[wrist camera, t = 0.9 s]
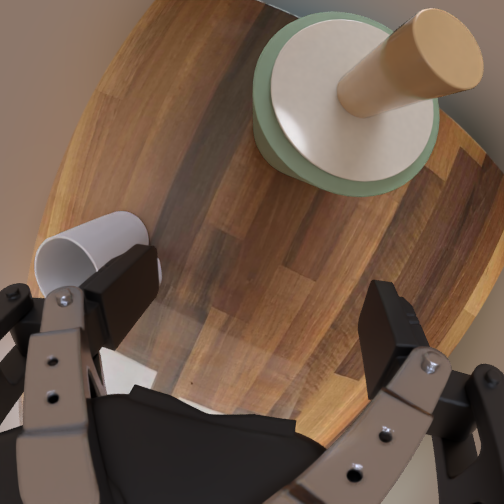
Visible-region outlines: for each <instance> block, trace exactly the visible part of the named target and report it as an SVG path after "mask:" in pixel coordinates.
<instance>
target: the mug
mask: <svg viewBox="0 0 504 504" xmlns="http://www.w3.org/2000/svg"><path fill="white" fill-rule="evenodd" d="M135 244H143V245H149V238H148V233H147V230H146V227H145V225H144V224H143V222H142V221H141V220H140V219H139V218H138V217H137V216H135V215H134V214H132V213H130V212H126V211H117V212H113V213H110V214H108V215H105V216H102V217H99V218H97V219H94V220H92V221H89V222H86V223H84V224H81V225H79V226H76V227H74V228H71V229H69V230H66V231H64V232H61V233H59V234H57V235H55V236H52V237H50V238H48V239H46V240H45V241H44V242H43V243H42V244H41V245H40V246H39V248H38V250H37V253H36V256H35V262H34V269H35V276H36V280H37V283H38V286H39V288H40V290H41V292H42V294H43V295H44V297H45V298H46V296H47V295H48V294H49V293H50V292H51V291H53V290H54V289H57V288H59V287H63V286H76V287H79V286H80V285H81V284H82V283H83V282H84V281H86V280H87V279H88V278H89V277H90V276H91V275H93V274H94V273H95V272H98V270H99V269H100V268H101V267H102V266H104V265H105V264H106V263H107V262H108V261H109V260H111V259H112V258H114V257H117V256H119V255H121V254H124V253H125V252H126V251H127V250H129V249H130V248H131V247H132V246H134V245H135ZM158 273H159V286H160V284H161V281H162V271H161V265H160V260H159V259H158Z"/></svg>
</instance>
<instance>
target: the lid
mask: <svg viewBox="0 0 504 504" xmlns="http://www.w3.org/2000/svg"><path fill="white" fill-rule="evenodd" d="M483 70H484V64H483V58H482V54H481V51H480V48H479V46H478V44H477V42H476V40H475V38H474V37H473V35H472V34H471V32H470V31H469V30H468V28H466V26H465V25H464V24H463V23H462V22H461V21H460V20H458V19H457V18H456V17H454V16H453V15H451V14H449V13H448V12H445V11H443V10H440V9H436V8H426V9H423V10H421V11H419V12H418V13H416V14H415V15H414V16H413V17H411V18H410V19H409V20H408V21H406V22H405V23H404V24H403V25H401V26H400V27H399V28H398V29H396V30H395V31H394V32H393V33H392V34H390V35H389V34H388V33H386V32H384V31H382V30H381V29H378V28H376V27H374V26H372V25H369V24H366V23H363V22H358V21H353V20H343V19H337V20H327V21H322V22H318V23H315V24H312V25H310V26H308V27H306V28H304V29H302V30H300V31H299V32H298V33H296V34H295V35H293V36H292V37H291V38H290V39H289V40H288V41H287V42H286V44H285V45H284V46H283V48H282V49H281V51H280V52H279V54H278V56H277V58H276V60H275V63H274V67H273V70H272V75H271V81H270V97H271V105H272V109H273V112H274V116H275V118H276V121H277V123H278V125H279V128H280V129H281V131H282V133H283V135H284V136H285V138H286V139H287V140H288V142H289V143H290V145H291V146H292V147H293V148H294V149H295V150H296V151H297V152H298V153H299V154H300V155H301V156H302V157H303V158H304V159H305V160H307V161H308V162H309V163H310V164H312V165H313V166H315V167H317V168H318V169H320V170H322V171H324V172H326V173H328V174H330V175H333V176H336V177H339V178H343V179H347V180H352V181H361V182H369V181H378V180H383V179H387V178H390V177H392V176H395V175H397V174H399V173H400V172H402V171H404V170H405V169H407V168H408V167H409V166H411V165H412V164H413V163H414V162H415V160H416V159H417V158H418V157H419V156H420V154H421V153H422V152H423V150H424V148H425V146H426V144H427V142H428V140H429V137H430V134H431V130H432V125H433V116H434V111H433V100H432V99H435V98H438V97H442V96H446V95H450V94H454V93H458V92H462V91H466V90H470V89H472V88H474V87H476V86H477V85H478V84H479V82H480V81H481V79H482V76H483Z"/></svg>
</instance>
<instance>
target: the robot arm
mask: <svg viewBox="0 0 504 504" xmlns="http://www.w3.org/2000/svg"><path fill="white" fill-rule="evenodd" d="M158 290H159V273H158V258H157V250H156V248H155V247H154V246H149V245H143V244H135V245H134V246H132V247H131V248H130V249H129V250H127V251H126V252H125V253H124V254H121V255H119V256H117V257H114V258H112V259H111V260H109V261H108V262H107V263H106V264H105V265H104V266H102V267H101V268H100V269H99V270H98V272H95V273H94V274H93V275H91V276H90V277H89V278H88V279H87V280H86V281H84V282H83V283H82V284H81V285H80V286H79V287H76V286H63V287H59V288H57V289H54V290H53V291H51V292H50V293H49V294H48V295H47V296H46V298H32V295H31V292H30V288H29V286H28V285H26V284H22V283H17V284H13V285H10V286H7V287H6V288H4V289H3V290H1V291H0V340H1V339H2V338H3V337H4V336H5V335H6V334H7V333H8V332H9V331H10V333H11V335H12V338H13V340H14V342H15V344H16V345H15V346H14V347H13V348H12V349H11V351H10V352H9V353H8V354H7V355H6V356H5V357H4V359H3V360H2V361H1V362H0V425H1V423H2V422H3V420H4V419H5V417H6V416H7V414H8V413H9V412H10V410H11V409H12V407H13V406H14V404H15V403H16V402H17V400H18V399H19V398H20V396H21V395H22V393H23V392H24V401H23V425H22V426H19V427H16V428H13V429H10V430H7V431H4V432H1V433H0V504H380V503H381V502H382V501H383V499H384V498H385V497H386V495H387V494H388V493H389V491H390V490H391V488H392V487H393V486H394V484H395V483H396V481H397V480H398V478H399V477H400V475H401V474H402V472H403V471H404V469H405V468H406V466H407V465H408V463H409V461H410V460H411V458H412V456H413V455H414V453H415V451H416V450H417V448H418V446H419V445H420V443H421V441H422V439H423V438H424V436H425V434H428V435H432V441H433V447H434V455H435V463H436V472H437V481H438V493H439V504H504V374H503V373H502V372H501V371H500V370H499V369H497V368H496V367H494V366H492V365H489V364H480V365H478V366H477V367H476V368H475V370H474V371H473V373H472V374H471V375H468V374H464V373H461V372H457V371H454V370H451V364H450V361H449V360H448V358H447V357H446V356H445V355H444V354H443V353H442V352H440V351H439V350H437V349H435V348H432V347H430V346H429V343H428V341H427V339H426V336H425V334H424V332H423V329H422V327H421V325H420V324H419V320H418V318H417V317H416V314H415V311H414V309H413V307H412V305H411V304H410V303H409V302H408V301H407V300H405V299H404V298H403V297H399V296H398V294H397V291H396V289H395V287H394V285H393V283H392V282H386V281H379V280H372V281H371V283H370V285H369V288H368V291H367V295H366V298H365V301H364V304H363V307H362V310H361V313H360V317H359V322H358V334H359V340H360V346H361V352H362V358H363V364H364V371H365V377H366V384H367V392H368V400H372V401H371V402H370V403H369V404H368V405H367V407H366V408H365V409H364V410H363V411H362V413H361V414H360V415H359V416H358V417H357V418H356V419H355V421H354V422H353V423H352V424H351V425H350V426H349V427H348V428H347V429H346V430H345V432H344V433H343V434H342V435H341V436H340V437H339V438H338V439H337V440H336V441H335V442H334V443H333V444H332V445H331V446H330V447H329V448H328V449H326V448H324V447H323V446H322V445H320V444H319V443H317V442H316V441H314V440H312V439H311V438H309V437H306V436H304V435H302V434H299V433H296V432H295V427H296V420H289V419H282V418H274V417H268V416H261V415H255V414H246V415H213V414H207V413H204V412H202V411H200V410H198V409H196V408H194V407H192V406H190V405H188V404H186V403H184V402H182V401H180V400H178V399H177V398H175V397H173V396H171V395H168V394H164V393H161V392H158V391H154V390H151V389H148V388H145V387H142V386H139V385H136V384H135V385H134V387H133V388H132V390H131V392H130V393H129V394H111V395H107V391H106V386H105V380H104V374H103V368H102V361H101V355H100V352H99V350H100V349H101V348H102V347H105V348H108V349H111V350H114V351H115V350H116V348H117V347H118V346H119V344H120V343H121V342H122V340H123V339H124V338H125V336H126V335H127V334H128V332H129V331H130V330H131V329H132V327H133V326H134V325H135V323H136V322H137V321H138V319H139V318H140V317H141V316H142V314H143V313H144V312H145V310H146V309H147V308H148V307H149V305H150V304H151V303H152V301H153V300H154V299H155V298H156V296H157V293H158ZM476 428H477V429H478V433H479V437H480V441H481V451H480V454H479V456H477V451H476V447H475V442H474V438H473V434H472V433H473V432H474V430H475V429H476Z"/></svg>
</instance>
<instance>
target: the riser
mask: <svg viewBox="0 0 504 504" xmlns="http://www.w3.org/2000/svg"><path fill="white" fill-rule="evenodd" d="M337 19H343V20H353V21H358V22H363V23H366V24H369V25H372V26H374V27H376V28H378V29H381V30H382V31H384V32H386V33H388V34H389V35H390V34H392V33H393V31H392V30H390V29H389V28H387V27H385V26H384V25H382V24H380V23H378V22H376V21H374V20H372V19H369V18H366V17H363V16H360V15H356V14H351V13H346V12H321V13H316V14H311V15H308V16H305V17H302V18H299V19H297V20H295V21H293V22H291V23H289V24H288V25H286V26H285V27H284V28H282V29H281V30H279V31H278V32H277V33H276V34H275V35H274V36H273V37H272V38H271V39H270V41H269V42H268V44H267V45H266V46H265V48H264V49H263V51H262V53H261V55H260V57H259V59H258V62H257V65H256V68H255V72H254V78H253V132H254V138H255V142H256V145H257V147H258V150H259V151H260V153H261V155H262V156H263V157H264V159H265V160H266V161H267V162H268V163H269V164H270V165H271V166H272V167H274V168H275V169H276V170H278V171H280V172H281V173H284V174H286V175H288V176H291V177H293V178H296V179H298V180H301V181H303V182H306V183H308V184H311V185H313V186H315V187H318V188H320V189H323V190H326V191H329V192H332V193H334V194H339V195H344V196H352V197H368V196H375V195H380V194H384V193H387V192H390V191H392V190H395V189H397V188H399V187H400V186H402V185H404V184H405V183H407V182H408V181H409V180H411V179H412V178H413V177H414V176H415V175H416V174H417V173H418V172H419V171H420V170H421V169H422V167H423V166H424V165H425V163H426V162H427V160H428V158H429V157H430V155H431V153H432V151H433V148H434V145H435V143H436V139H437V135H438V129H439V105H438V99H437V98H435V99H432V100H433V111H434V116H433V125H432V130H431V134H430V137H429V140H428V142H427V144H426V146H425V148H424V150H423V152H422V153H421V154H420V156H419V157H418V158H417V159H416V160H415V162H414V163H413V164H412V165H411V166H409V167H408V168H407V169H405V170H404V171H402V172H400V173H399V174H397V175H395V176H392V177H390V178H387V179H383V180H378V181H369V182H361V181H352V180H347V179H343V178H339V177H336V176H333V175H330V174H328V173H326V172H324V171H322V170H320V169H318V168H317V167H315V166H313V165H312V164H310V163H309V162H308V161H307V160H305V159H304V158H303V157H302V156H301V155H300V154H299V153H298V152H297V151H296V150H295V149H294V148H293V147H292V146H291V145H290V143H289V142H288V140H287V139H286V138H285V136H284V135H283V133H282V131H281V129H280V128H279V125H278V123H277V121H276V118H275V116H274V112H273V109H272V105H271V97H270V81H271V75H272V70H273V67H274V63H275V60H276V58H277V56H278V54H279V52H280V51H281V49H282V48H283V46H284V45H285V44H286V42H287V41H288V40H289V39H290V38H291V37H292V36H293V35H295V34H296V33H298V32H299V31H300V30H302V29H304V28H306V27H308V26H310V25H312V24H315V23H318V22H322V21H327V20H337Z"/></svg>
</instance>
